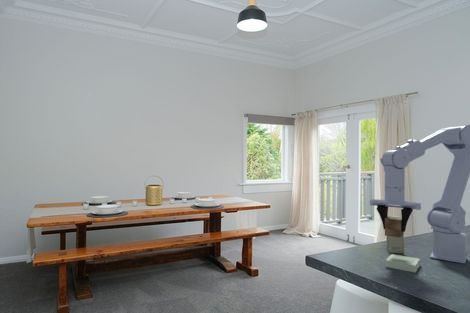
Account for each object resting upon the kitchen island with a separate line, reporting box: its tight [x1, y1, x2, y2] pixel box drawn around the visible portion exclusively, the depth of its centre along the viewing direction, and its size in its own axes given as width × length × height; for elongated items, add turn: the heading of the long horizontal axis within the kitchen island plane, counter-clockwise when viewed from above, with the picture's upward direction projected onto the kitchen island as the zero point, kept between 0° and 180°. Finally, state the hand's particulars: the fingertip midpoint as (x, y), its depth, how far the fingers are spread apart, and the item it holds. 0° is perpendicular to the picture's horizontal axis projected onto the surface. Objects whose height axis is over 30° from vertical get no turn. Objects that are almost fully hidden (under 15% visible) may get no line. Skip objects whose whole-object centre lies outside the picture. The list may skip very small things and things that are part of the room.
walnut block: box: [384, 215, 405, 238], centre depth 103 cm, size 5×5×6 cm
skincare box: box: [386, 215, 405, 254], centre depth 115 cm, size 6×4×12 cm
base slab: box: [385, 253, 421, 273], centre depth 99 cm, size 8×8×2 cm
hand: (394, 230), depth 103 cm, fingers closed on walnut block, 5 cm apart
